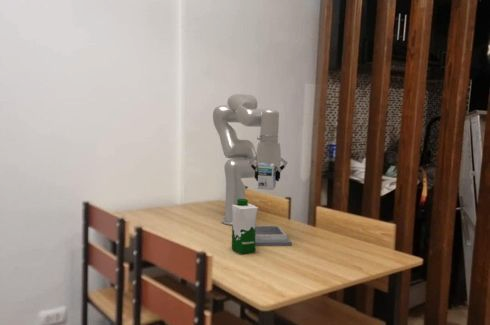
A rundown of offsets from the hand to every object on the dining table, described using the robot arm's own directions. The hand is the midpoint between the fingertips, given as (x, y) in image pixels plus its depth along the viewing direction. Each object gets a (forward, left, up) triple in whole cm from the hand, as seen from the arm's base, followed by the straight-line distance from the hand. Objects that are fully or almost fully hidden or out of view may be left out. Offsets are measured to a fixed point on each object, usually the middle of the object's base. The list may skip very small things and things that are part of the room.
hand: (267, 180), depth 184 cm
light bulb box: (0, 0, -3) cm, 3 cm away
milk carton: (+15, -11, -26) cm, 32 cm away
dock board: (0, 0, -26) cm, 26 cm away
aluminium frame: (0, 0, -24) cm, 24 cm away
